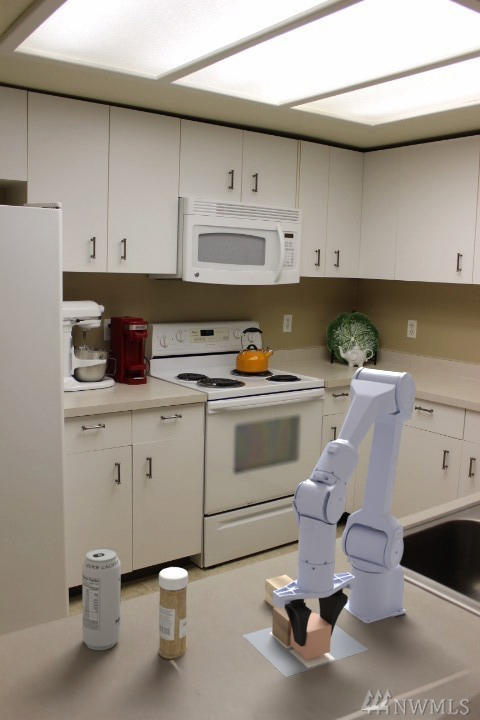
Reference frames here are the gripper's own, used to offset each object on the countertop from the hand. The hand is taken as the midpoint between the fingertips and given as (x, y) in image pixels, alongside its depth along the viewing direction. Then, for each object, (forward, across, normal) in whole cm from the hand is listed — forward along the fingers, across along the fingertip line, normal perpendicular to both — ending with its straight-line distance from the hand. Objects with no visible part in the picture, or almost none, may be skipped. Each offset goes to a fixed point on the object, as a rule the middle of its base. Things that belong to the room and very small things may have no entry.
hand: (312, 639), depth 106 cm
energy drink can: (+3, +28, -20) cm, 34 cm away
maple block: (+3, -5, -16) cm, 18 cm away
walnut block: (+3, 0, -6) cm, 7 cm away
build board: (+3, -1, -4) cm, 5 cm away
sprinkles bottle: (+3, +19, -12) cm, 22 cm away
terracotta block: (+2, 0, -1) cm, 2 cm away
